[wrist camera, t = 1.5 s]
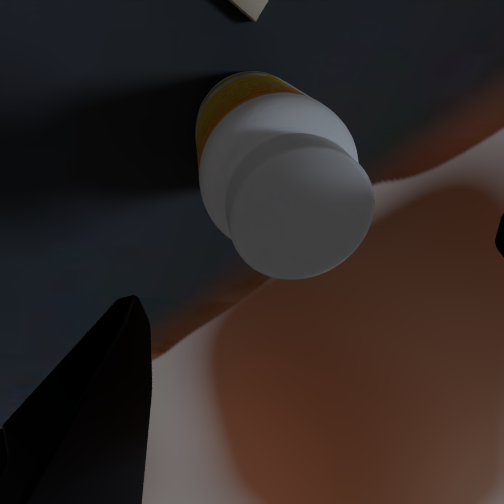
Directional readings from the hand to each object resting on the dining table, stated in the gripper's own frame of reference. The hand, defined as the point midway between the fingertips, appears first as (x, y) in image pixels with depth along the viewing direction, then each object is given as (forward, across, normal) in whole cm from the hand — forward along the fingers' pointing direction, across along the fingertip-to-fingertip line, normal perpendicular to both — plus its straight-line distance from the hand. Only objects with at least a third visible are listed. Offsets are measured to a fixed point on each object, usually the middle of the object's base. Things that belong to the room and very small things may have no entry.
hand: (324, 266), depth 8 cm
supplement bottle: (+11, 0, 0) cm, 11 cm away
